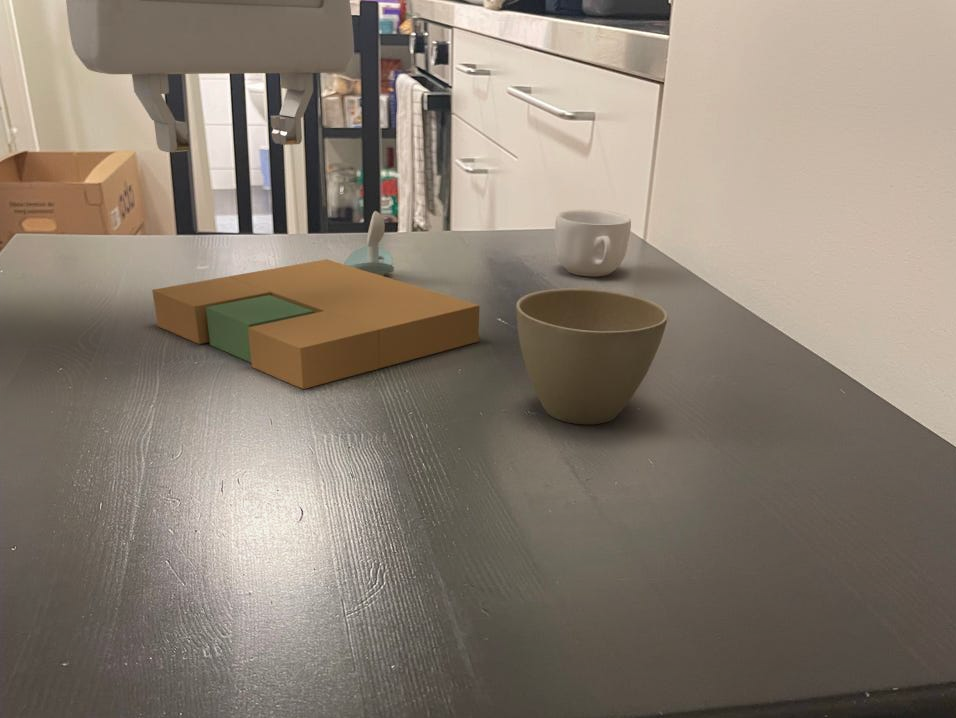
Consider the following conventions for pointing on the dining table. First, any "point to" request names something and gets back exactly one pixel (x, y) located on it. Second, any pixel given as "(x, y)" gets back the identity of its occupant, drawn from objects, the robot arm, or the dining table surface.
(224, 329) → the green block
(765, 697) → the dining table surface
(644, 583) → the dining table surface
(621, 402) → the bowl
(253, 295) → the brown notched block
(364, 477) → the dining table surface
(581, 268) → the teacup
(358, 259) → the pacifier
